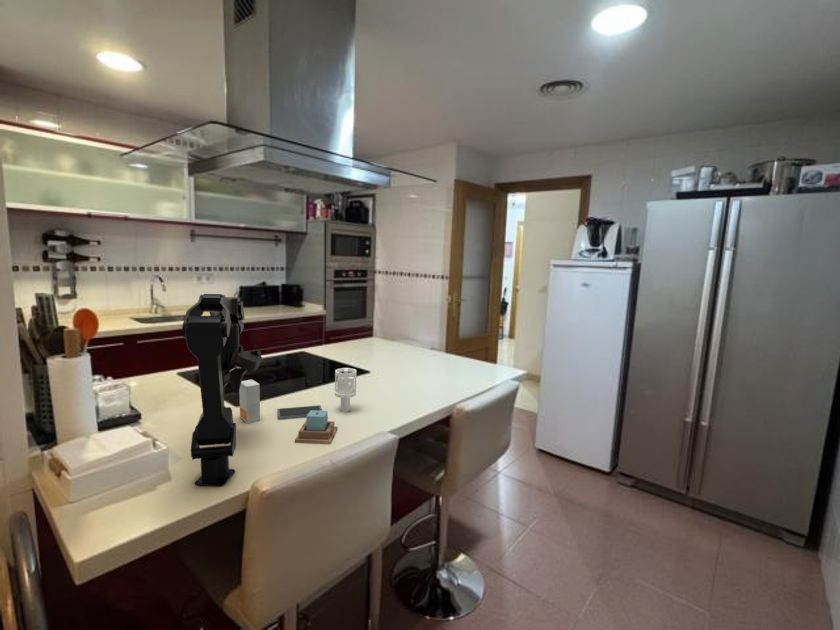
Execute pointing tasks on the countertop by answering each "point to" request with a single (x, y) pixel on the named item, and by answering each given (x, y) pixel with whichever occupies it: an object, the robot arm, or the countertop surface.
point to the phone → (296, 412)
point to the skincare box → (249, 401)
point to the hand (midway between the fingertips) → (229, 398)
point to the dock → (317, 435)
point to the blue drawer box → (316, 420)
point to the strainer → (345, 386)
